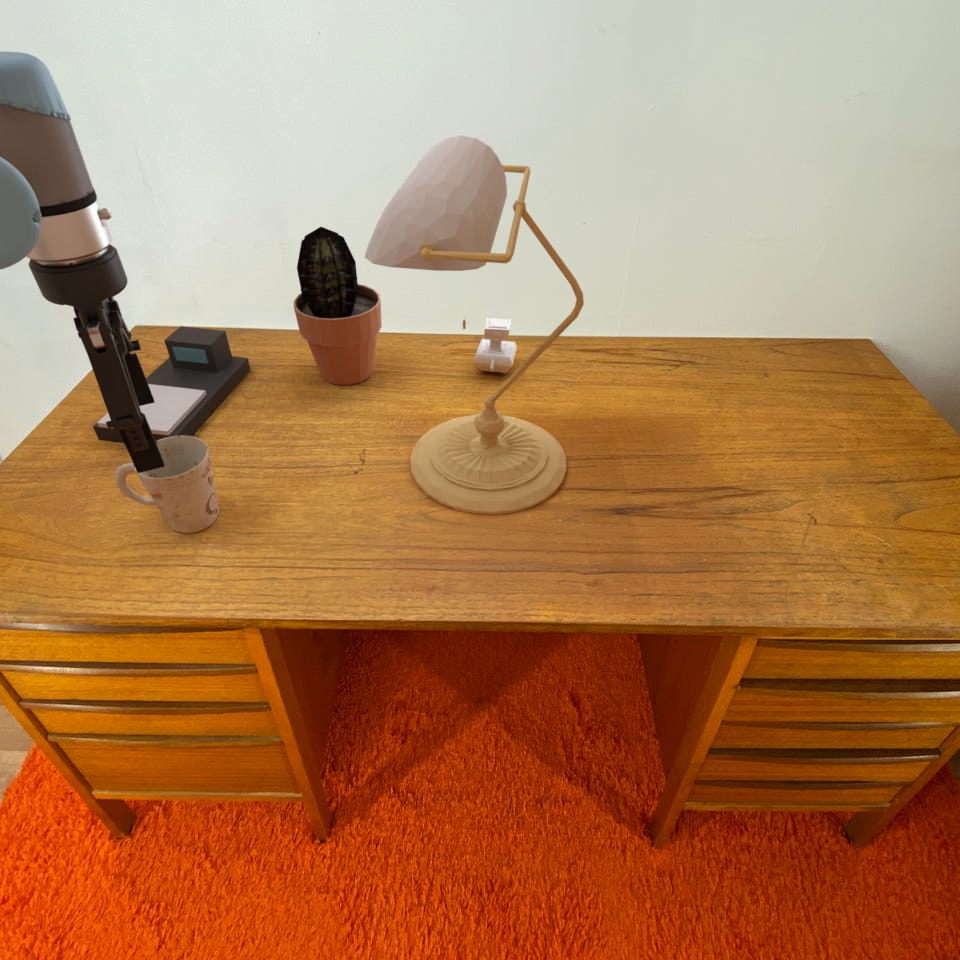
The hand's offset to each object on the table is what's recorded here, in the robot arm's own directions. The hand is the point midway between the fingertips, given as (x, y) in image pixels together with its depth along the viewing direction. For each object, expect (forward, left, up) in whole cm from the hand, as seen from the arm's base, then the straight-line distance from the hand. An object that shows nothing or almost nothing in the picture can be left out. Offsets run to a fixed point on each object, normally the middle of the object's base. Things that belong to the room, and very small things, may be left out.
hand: (146, 434), depth 74 cm
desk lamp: (+41, -6, -13) cm, 43 cm away
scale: (+3, +28, -13) cm, 31 cm away
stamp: (+54, +17, -13) cm, 58 cm away
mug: (0, 0, -13) cm, 13 cm away
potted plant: (+30, +26, -13) cm, 42 cm away
